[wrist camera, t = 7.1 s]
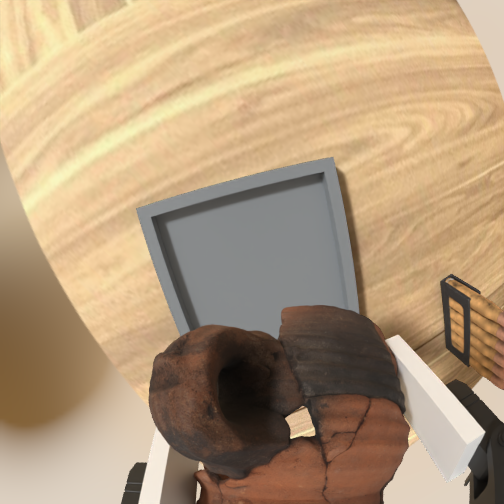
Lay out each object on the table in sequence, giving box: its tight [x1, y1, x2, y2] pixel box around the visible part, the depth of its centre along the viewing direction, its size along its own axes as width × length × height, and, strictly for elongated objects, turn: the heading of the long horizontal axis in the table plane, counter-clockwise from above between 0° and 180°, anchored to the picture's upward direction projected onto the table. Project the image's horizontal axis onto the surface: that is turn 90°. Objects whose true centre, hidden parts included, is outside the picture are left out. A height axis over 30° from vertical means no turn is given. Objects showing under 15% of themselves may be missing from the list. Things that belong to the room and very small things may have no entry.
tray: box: [136, 157, 359, 339], centre depth 25 cm, size 16×18×2 cm
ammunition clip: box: [440, 274, 504, 390], centre depth 23 cm, size 11×2×12 cm, turn 24°
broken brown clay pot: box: [149, 305, 410, 504], centre depth 10 cm, size 12×10×8 cm
